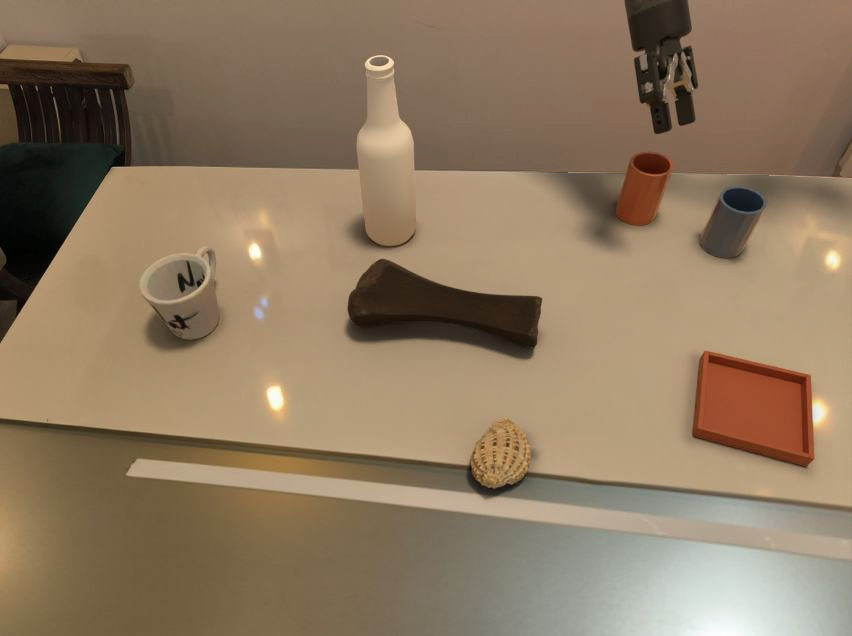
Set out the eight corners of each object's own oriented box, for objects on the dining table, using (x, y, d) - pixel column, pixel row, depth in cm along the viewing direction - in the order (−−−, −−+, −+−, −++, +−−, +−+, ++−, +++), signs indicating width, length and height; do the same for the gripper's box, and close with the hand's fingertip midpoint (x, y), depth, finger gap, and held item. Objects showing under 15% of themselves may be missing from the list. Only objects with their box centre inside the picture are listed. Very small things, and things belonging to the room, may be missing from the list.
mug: (150, 340, 94) (124, 295, 86) (196, 273, 102) (176, 228, 94) (209, 353, 91) (189, 309, 84) (251, 284, 100) (236, 238, 92)
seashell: (467, 448, 82) (471, 497, 73) (468, 410, 80) (472, 456, 71) (525, 449, 82) (536, 498, 73) (528, 411, 79) (540, 458, 70)
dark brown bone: (349, 328, 95) (525, 368, 93) (340, 314, 85) (538, 358, 82) (365, 263, 97) (539, 300, 94) (358, 241, 87) (554, 282, 84)
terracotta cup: (657, 204, 106) (675, 155, 98) (653, 228, 103) (671, 179, 95) (618, 197, 108) (633, 148, 100) (612, 221, 104) (627, 171, 96)
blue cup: (743, 235, 100) (767, 190, 93) (742, 261, 97) (766, 217, 90) (700, 227, 102) (720, 182, 95) (698, 253, 98) (718, 208, 91)
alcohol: (367, 215, 109) (349, 47, 86) (416, 214, 108) (411, 44, 85) (364, 248, 104) (344, 79, 80) (415, 247, 103) (411, 76, 80)
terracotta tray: (803, 383, 82) (811, 374, 80) (806, 466, 75) (814, 459, 73) (699, 358, 86) (704, 350, 84) (692, 436, 78) (697, 428, 77)
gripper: (662, -6, 75) (683, 128, 79) (704, -7, 84) (721, 114, 87) (605, 19, 80) (628, 143, 84) (650, 16, 89) (669, 128, 93)
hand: (675, 128), depth 86 cm, fingers open, 8 cm apart
